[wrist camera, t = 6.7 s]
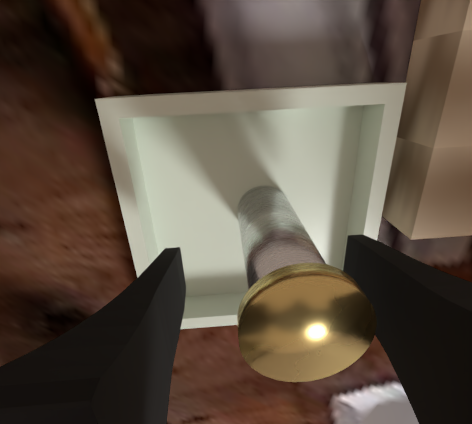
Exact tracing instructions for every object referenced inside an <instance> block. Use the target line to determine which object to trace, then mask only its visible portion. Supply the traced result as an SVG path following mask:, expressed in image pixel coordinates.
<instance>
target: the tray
mask: <svg viewBox="0 0 472 424" xmlns="http://www.w3.org/2000/svg"><path fill="white" fill-rule="evenodd" d="M406 85H407V83H359V84H340V85H321V86H301V87H282V88H263V89H244V90H225V91H205V92H186V93H167V94H148V95H129V96H113V97H106V98H99V99H95V102H96V106H97V111H98V115H99V119H100V123H101V127H102V131H103V136H104V140H105V144H106V148H107V152H108V157H109V161H110V165H111V169H112V173H113V177H114V182H115V186H116V190H117V194H118V198H119V203H120V207H121V211H122V215H123V219H124V223H125V228H126V232H127V236H128V240H129V244H130V249H131V253H132V257H133V261H134V265H135V270H136V274H137V278H138V277H139V276H140V275H141V274H142V273H143V272H144V271H145V269H146V268H147V267H148V266H149V265H150V264H151V263H152V262H153V261H154V260H155V259H156V258H157V257H158V255H159V254H160V253H161V252H162V251H163V250H164V249H165V248H176V247H180V250H181V256H182V263H183V269H184V276H185V283H186V297H185V309H184V314H183V319H182V324H181V328H180V329H189V328H201V327H214V326H226V325H238V324H237V313H238V309H239V305H240V303H241V301H242V299H243V297H244V295H245V294H246V292H247V291H248V283H247V276H246V269H245V263H244V256H243V249H242V242H241V236H240V229H239V222H238V215H237V207H238V204H239V201H240V199H241V198H242V196H243V195H244V194H245V193H246V192H247V191H249V190H250V189H252V188H255V187H258V186H272V187H275V188H277V189H279V190H280V191H282V192H283V193H284V194H285V196H286V197H287V199H288V201H289V202H290V204H291V206H292V207H293V209H294V211H295V212H296V214H297V216H298V217H299V219H300V221H301V222H302V224H303V226H304V227H305V229H306V231H307V233H308V234H309V236H310V238H311V239H312V241H313V243H314V244H315V246H316V248H317V249H318V251H319V253H320V254H321V256H322V258H323V259H324V261H325V263H326V264H327V265H330V266H334V267H336V268H339V269H341V270H342V271H343V267H344V259H345V252H346V245H347V238H348V235H361V234H362V235H365V236H368V237H370V238H372V239H374V240H376V241H377V238H378V232H379V227H380V222H381V217H382V211H383V206H384V201H385V196H386V190H387V185H388V180H389V174H390V169H391V164H392V159H393V153H394V148H395V143H396V138H397V132H398V127H399V122H400V117H401V111H402V106H403V101H404V95H405V90H406Z"/></svg>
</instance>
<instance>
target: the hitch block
mask: <svg viewBox="0 0 472 424" xmlns="http://www.w3.org/2000/svg"><path fill="white" fill-rule="evenodd" d="M406 83H407V85H406V90H405V95H404V101H403V106H402V111H401V117H400V122H399V127H398V132H397V138H396V143H395V148H394V153H393V159H392V164H391V169H390V174H389V180H388V185H387V190H386V196H385V201H384V206H383V211H382V217H384V218H385V219H386V220H387V221H388V222H390V223H391V224H392V225H393V226H395V227H396V228H397V229H398V230H399V231H401V232H402V233H403V234H404V235H406V236H407V237H408V238H409V239H410V240H415V239H429V238H443V237H457V236H471V235H472V0H421V3H420V9H419V14H418V19H417V24H416V30H415V35H414V40H413V46H412V51H411V56H410V62H409V67H408V72H407V78H406Z"/></svg>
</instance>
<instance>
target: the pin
mask: <svg viewBox="0 0 472 424" xmlns="http://www.w3.org/2000/svg"><path fill="white" fill-rule="evenodd" d="M237 215H238V222H239V229H240V236H241V242H242V249H243V256H244V263H245V269H246V276H247V283H248V291H247V292H246V294H245V295H244V297H243V299H242V301H241V303H240V305H239V309H238V313H237V324H238V337H239V347H240V350H241V353H242V355H243V357H244V359H245V360H246V362H247V363H248V364H249V365H250V366H251V367H252V368H253V369H254V370H256V371H257V372H259V373H260V374H262V375H264V376H267V377H269V378H272V379H276V380H280V381H287V382H305V381H312V380H317V379H321V378H325V377H328V376H330V375H333V374H335V373H337V372H340V371H342V370H343V369H345V368H347V367H348V366H350V365H351V364H353V363H354V362H355V361H356V360H357V359H359V358H360V357H361V356H362V355H363V353H364V352H365V351H366V350H367V348H368V347H369V346H370V344H371V342H372V340H373V338H374V335H375V332H376V326H377V319H376V313H375V311H374V308H373V306H372V304H371V303H370V301H369V300H368V298H367V297H366V295H365V294H364V292H363V291H362V290H361V288H360V287H359V285H358V284H357V282H356V281H355V280H354V279H353V278H352V277H351V276H350V275H349V274H347V273H346V272H344V271H342V270H341V269H339V268H336V267H334V266H330V265H327V264H326V263H325V261H324V259H323V258H322V256H321V254H320V253H319V251H318V249H317V248H316V246H315V244H314V243H313V241H312V239H311V238H310V236H309V234H308V233H307V231H306V229H305V227H304V226H303V224H302V222H301V221H300V219H299V217H298V216H297V214H296V212H295V211H294V209H293V207H292V206H291V204H290V202H289V201H288V199H287V197H286V196H285V194H284V193H283V192H282V191H280V190H279V189H277V188H275V187H272V186H258V187H255V188H252V189H250V190H249V191H247V192H246V193H245V194H244V195H243V196H242V198H241V199H240V201H239V204H238V207H237Z"/></svg>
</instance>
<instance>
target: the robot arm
mask: <svg viewBox="0 0 472 424" xmlns="http://www.w3.org/2000/svg"><path fill="white" fill-rule="evenodd" d="M343 271H344V272H346V273H347V274H349V275H350V276H351V277H352V278H353V279H354V280H355V281H356V282H357V284H358V285H359V287H360V288H361V290H362V291H363V292H364V294H365V295H366V297H367V298H368V300H369V301H370V303H371V304H372V306H373V308H374V311H375V313H376V319H377V326H376V332H375V335H376V337H377V338H378V340H379V341H380V343H381V345H382V346H383V348H384V350H385V352H386V353H387V355H388V357H389V359H390V361H391V363H392V366H393V368H394V370H395V372H396V374H397V376H398V378H399V380H400V382H401V384H402V386H403V388H404V391H405V393H406V395H407V397H408V399H409V401H410V404H411V406H412V408H413V410H414V413H415V415H416V417H417V419H418V422H419V424H472V282H469V281H466V280H464V279H461V278H458V277H455V276H453V275H450V274H447V273H445V272H442V271H440V270H438V269H435V268H433V267H431V266H429V265H426V264H424V263H422V262H420V261H417V260H415V259H413V258H411V257H409V256H407V255H405V254H403V253H401V252H399V251H397V250H395V249H393V248H391V247H389V246H387V245H385V244H383V243H381V242H379V241H376V240H374V239H372V238H370V237H368V236H365V235H362V234H361V235H348V238H347V245H346V252H345V259H344V267H343ZM185 297H186V283H185V276H184V269H183V263H182V256H181V250H180V247H176V248H165V249H164V250H163V251H162V252H161V253H160V254H159V255H158V257H157V258H156V259H155V260H154V261H153V262H152V263H151V264H150V265H149V266H148V267H147V268H146V269H145V271H144V272H143V273H142V274H141V275H140V276H139V277H138V278H137V279H136V280H135V281H133V282H132V283H131V284H130V285H129V286H128V287H127V288H126V289H125V290H124V291H123V292H122V293H120V294H119V295H118V296H117V297H116V298H115V299H113V300H112V301H111V302H109V303H108V304H107V305H106V306H104V307H103V308H102V309H100V310H99V311H98V312H96V313H95V314H93V315H92V316H90V317H89V318H87V319H86V320H84V321H83V322H81V323H80V324H78V325H77V326H75V327H74V328H72V329H71V330H69V331H67V332H66V333H64V334H62V335H61V336H59V337H57V338H56V339H54V340H52V341H50V342H48V343H47V344H45V345H43V346H41V347H39V348H37V349H36V350H34V351H32V352H30V353H28V354H26V355H24V356H22V357H20V358H18V359H15V360H13V361H11V362H9V363H7V364H5V365H3V366H1V367H0V424H166V423H167V413H168V403H169V393H170V384H171V375H172V368H173V362H174V357H175V352H176V347H177V343H178V338H179V333H180V328H181V324H182V319H183V314H184V309H185Z"/></svg>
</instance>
